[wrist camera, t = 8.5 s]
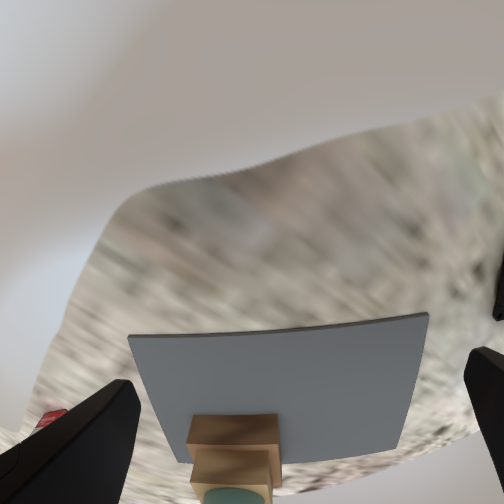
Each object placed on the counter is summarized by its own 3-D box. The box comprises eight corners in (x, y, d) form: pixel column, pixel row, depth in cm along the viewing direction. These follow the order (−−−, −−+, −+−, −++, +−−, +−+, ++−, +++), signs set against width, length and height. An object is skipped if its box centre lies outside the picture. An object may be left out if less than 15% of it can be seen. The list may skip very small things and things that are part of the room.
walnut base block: (277, 413, 24) (277, 444, 21) (281, 459, 26) (281, 486, 23) (193, 414, 24) (185, 443, 21) (209, 459, 27) (204, 485, 24)
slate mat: (427, 312, 21) (429, 315, 20) (394, 445, 26) (395, 448, 26) (128, 335, 23) (127, 337, 22) (178, 459, 28) (177, 462, 27)
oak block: (268, 450, 21) (267, 484, 18) (272, 482, 23) (272, 513, 20) (197, 449, 22) (189, 482, 18) (210, 482, 23) (205, 511, 20)
